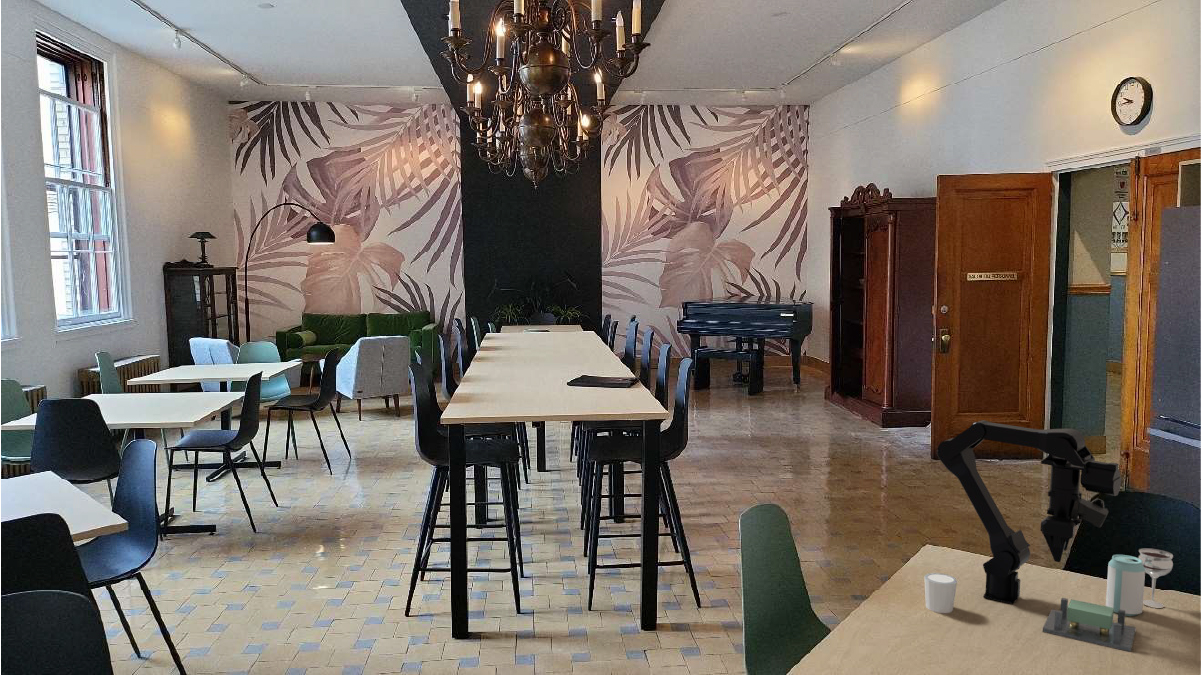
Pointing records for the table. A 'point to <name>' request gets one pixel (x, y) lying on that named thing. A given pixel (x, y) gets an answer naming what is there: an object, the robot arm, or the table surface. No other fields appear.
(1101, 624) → the green rectangular block
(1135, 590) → the can
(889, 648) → the table surface
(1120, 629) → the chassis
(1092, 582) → the table surface
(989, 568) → the robot arm
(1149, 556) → the wineglass
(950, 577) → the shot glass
